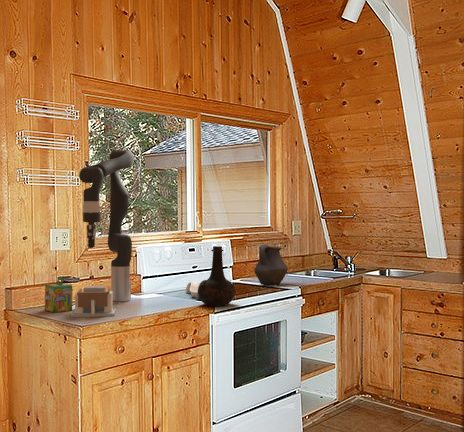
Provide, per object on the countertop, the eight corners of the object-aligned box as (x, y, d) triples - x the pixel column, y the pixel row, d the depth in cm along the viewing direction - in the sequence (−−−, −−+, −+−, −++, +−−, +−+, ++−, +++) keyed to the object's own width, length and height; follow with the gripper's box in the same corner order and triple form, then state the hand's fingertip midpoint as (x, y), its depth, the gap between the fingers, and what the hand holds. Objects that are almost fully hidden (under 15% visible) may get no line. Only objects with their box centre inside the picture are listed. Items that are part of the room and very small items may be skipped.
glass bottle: (193, 303, 273) (192, 245, 273) (227, 301, 279) (227, 244, 279) (204, 309, 256) (204, 247, 256) (240, 306, 262) (240, 246, 262)
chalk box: (44, 310, 253) (44, 277, 253) (63, 308, 259) (63, 276, 259) (53, 313, 246) (53, 279, 246) (73, 310, 253) (73, 277, 253)
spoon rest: (216, 298, 290) (216, 284, 290) (194, 300, 285) (194, 285, 285) (198, 292, 312) (198, 279, 312) (178, 294, 307) (178, 280, 307)
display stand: (74, 311, 249) (74, 286, 249) (115, 310, 252) (115, 285, 252) (70, 317, 236) (70, 290, 236) (114, 315, 238) (114, 289, 238)
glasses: (80, 302, 250) (80, 288, 250) (110, 301, 252) (110, 288, 252) (76, 307, 236) (76, 293, 236) (108, 306, 238) (108, 292, 238)
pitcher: (293, 284, 346) (293, 244, 346) (277, 288, 328) (277, 245, 328) (264, 282, 357) (264, 243, 357) (246, 286, 339) (246, 244, 339)
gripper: (84, 211, 261) (84, 246, 261) (81, 211, 247) (81, 248, 247) (101, 211, 262) (101, 246, 262) (98, 211, 248) (98, 248, 248)
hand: (91, 247), depth 255 cm, fingers open, 8 cm apart
